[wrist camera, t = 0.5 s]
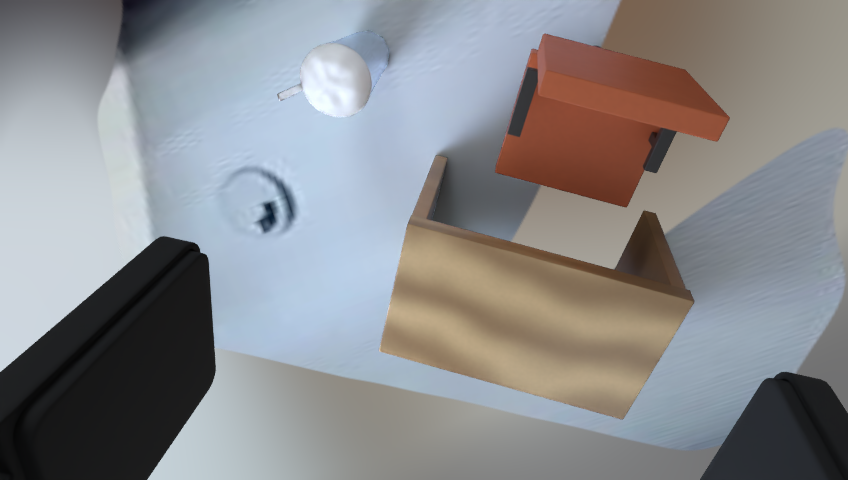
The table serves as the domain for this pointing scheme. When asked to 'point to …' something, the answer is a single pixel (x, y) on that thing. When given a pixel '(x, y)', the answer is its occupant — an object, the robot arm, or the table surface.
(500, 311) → the desk
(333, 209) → the table surface
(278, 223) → the table surface
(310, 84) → the milkshake
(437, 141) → the table surface
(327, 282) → the table surface
